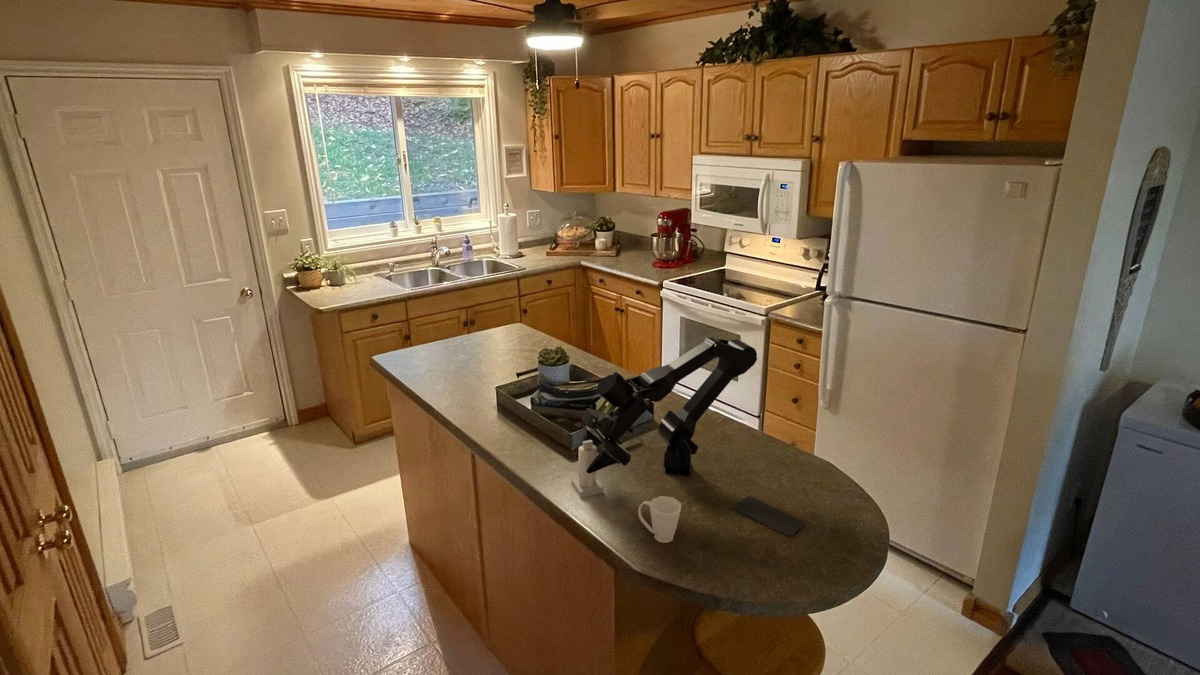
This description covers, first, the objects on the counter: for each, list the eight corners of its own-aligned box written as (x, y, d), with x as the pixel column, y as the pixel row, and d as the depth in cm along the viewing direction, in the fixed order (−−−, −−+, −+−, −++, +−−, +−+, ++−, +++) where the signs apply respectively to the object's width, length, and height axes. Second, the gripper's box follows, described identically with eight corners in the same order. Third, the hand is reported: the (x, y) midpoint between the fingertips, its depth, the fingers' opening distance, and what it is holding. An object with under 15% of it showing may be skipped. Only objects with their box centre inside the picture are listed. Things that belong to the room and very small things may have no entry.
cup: (670, 551, 133) (672, 518, 130) (630, 534, 138) (631, 502, 135) (685, 534, 138) (687, 502, 135) (646, 518, 143) (647, 487, 141)
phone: (790, 537, 137) (731, 507, 147) (789, 540, 137) (731, 510, 147) (806, 522, 142) (749, 494, 152) (806, 525, 142) (748, 497, 152)
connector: (594, 479, 158) (594, 433, 154) (603, 492, 153) (604, 445, 149) (571, 484, 156) (571, 437, 152) (580, 497, 151) (580, 449, 146)
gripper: (589, 383, 156) (547, 430, 156) (619, 415, 140) (573, 468, 140) (617, 407, 162) (577, 453, 161) (650, 440, 145) (605, 491, 145)
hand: (582, 465), depth 152 cm, fingers open, 7 cm apart
